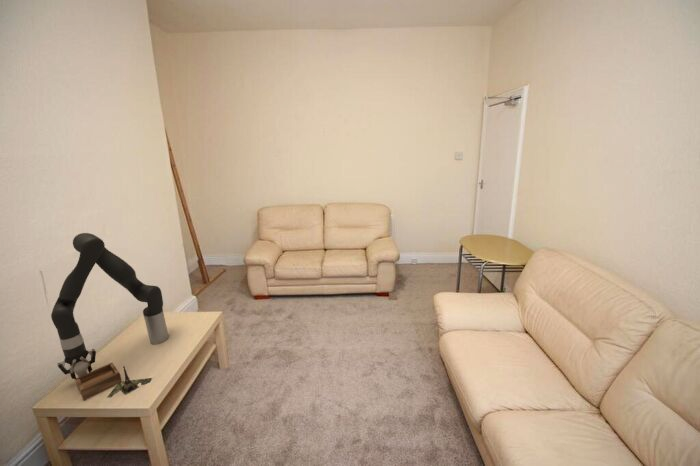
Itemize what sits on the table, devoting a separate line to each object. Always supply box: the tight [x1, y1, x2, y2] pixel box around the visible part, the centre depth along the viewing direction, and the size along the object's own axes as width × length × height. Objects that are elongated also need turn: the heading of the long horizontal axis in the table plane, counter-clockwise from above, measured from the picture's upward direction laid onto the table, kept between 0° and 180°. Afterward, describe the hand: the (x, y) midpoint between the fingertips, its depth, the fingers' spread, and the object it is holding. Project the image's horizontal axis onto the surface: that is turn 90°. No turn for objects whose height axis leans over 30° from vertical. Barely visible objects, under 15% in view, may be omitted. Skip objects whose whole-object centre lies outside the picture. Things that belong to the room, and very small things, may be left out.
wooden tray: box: [74, 362, 123, 401], centre depth 142 cm, size 12×14×5 cm
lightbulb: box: [73, 361, 88, 378], centre depth 145 cm, size 6×6×11 cm
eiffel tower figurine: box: [106, 364, 153, 399], centre depth 139 cm, size 15×10×13 cm
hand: (82, 375), depth 145 cm, fingers closed on lightbulb, 4 cm apart
